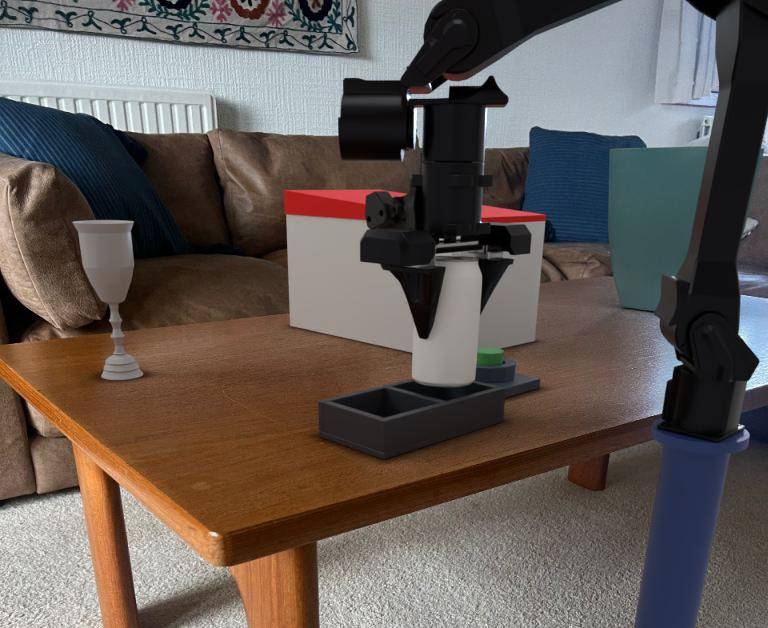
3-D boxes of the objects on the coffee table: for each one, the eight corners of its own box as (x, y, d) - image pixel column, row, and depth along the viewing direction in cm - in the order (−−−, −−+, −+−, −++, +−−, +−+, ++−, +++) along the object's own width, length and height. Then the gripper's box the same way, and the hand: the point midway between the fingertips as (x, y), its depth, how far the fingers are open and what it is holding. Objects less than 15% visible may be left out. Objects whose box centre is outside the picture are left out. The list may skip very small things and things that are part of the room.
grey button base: (539, 388, 94) (542, 363, 93) (498, 400, 89) (500, 374, 88) (475, 373, 101) (476, 350, 99) (433, 383, 95) (434, 359, 94)
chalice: (91, 370, 99) (70, 220, 92) (146, 366, 102) (130, 219, 95) (96, 384, 93) (74, 224, 86) (154, 379, 96) (137, 223, 89)
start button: (508, 365, 94) (510, 350, 93) (490, 369, 91) (491, 355, 91) (485, 360, 96) (486, 346, 95) (466, 364, 94) (467, 350, 93)
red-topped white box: (377, 312, 143) (378, 189, 135) (534, 340, 121) (547, 195, 112) (288, 325, 130) (283, 190, 122) (446, 360, 107) (453, 197, 99)
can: (443, 391, 75) (450, 260, 71) (398, 379, 80) (402, 256, 75) (488, 383, 79) (497, 259, 75) (442, 372, 84) (449, 254, 79)
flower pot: (589, 307, 152) (607, 147, 141) (643, 297, 164) (664, 149, 153) (685, 320, 139) (714, 145, 127) (736, 309, 151) (766, 148, 140)
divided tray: (503, 421, 81) (505, 387, 80) (383, 459, 70) (384, 421, 69) (438, 403, 87) (439, 372, 86) (318, 436, 76) (317, 400, 75)
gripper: (453, 164, 83) (447, 313, 89) (318, 161, 71) (322, 335, 77) (540, 163, 75) (527, 326, 82) (406, 161, 63) (403, 352, 70)
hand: (446, 334), depth 78 cm, fingers closed on can, 6 cm apart
